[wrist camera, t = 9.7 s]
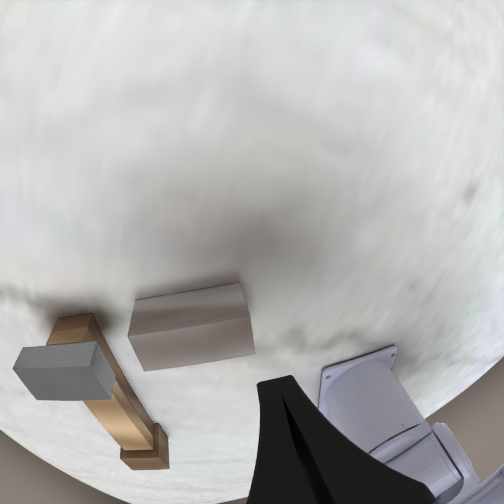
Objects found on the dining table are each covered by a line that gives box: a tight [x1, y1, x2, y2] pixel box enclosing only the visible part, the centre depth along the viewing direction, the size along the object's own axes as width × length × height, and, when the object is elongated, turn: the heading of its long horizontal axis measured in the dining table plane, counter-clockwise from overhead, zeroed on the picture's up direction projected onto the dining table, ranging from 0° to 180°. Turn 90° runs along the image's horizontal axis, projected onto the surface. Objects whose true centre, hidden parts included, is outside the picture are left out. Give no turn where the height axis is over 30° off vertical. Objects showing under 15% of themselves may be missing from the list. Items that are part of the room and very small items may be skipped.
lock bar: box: [13, 341, 116, 401], centre depth 14 cm, size 3×6×2 cm, turn 96°
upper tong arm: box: [46, 327, 153, 450], centre depth 19 cm, size 14×3×2 cm, turn 6°
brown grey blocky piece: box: [52, 282, 255, 470], centre depth 21 cm, size 18×14×4 cm
